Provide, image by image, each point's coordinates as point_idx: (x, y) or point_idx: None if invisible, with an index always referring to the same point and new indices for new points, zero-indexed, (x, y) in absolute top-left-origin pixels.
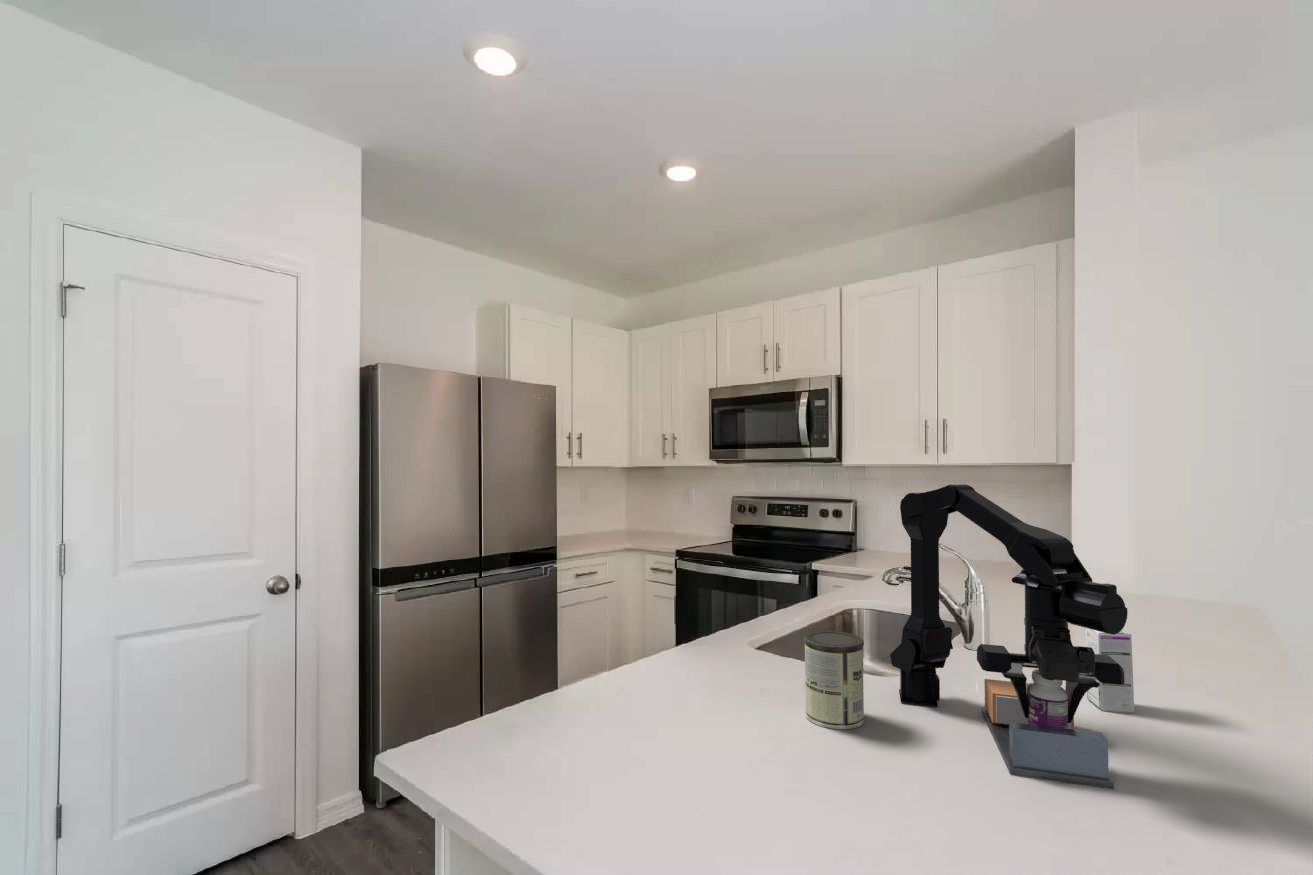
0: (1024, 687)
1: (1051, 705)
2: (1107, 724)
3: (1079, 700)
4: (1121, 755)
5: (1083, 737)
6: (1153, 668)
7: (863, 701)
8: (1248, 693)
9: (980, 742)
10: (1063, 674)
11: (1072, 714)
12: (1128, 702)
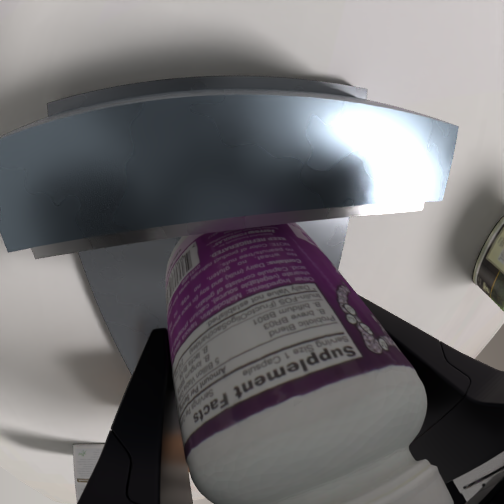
0: (469, 389)
1: (326, 340)
2: (93, 420)
3: (107, 453)
4: (46, 332)
5: (103, 109)
6: None
7: (501, 272)
8: (16, 465)
9: (358, 261)
10: None
11: (146, 363)
12: (78, 457)
